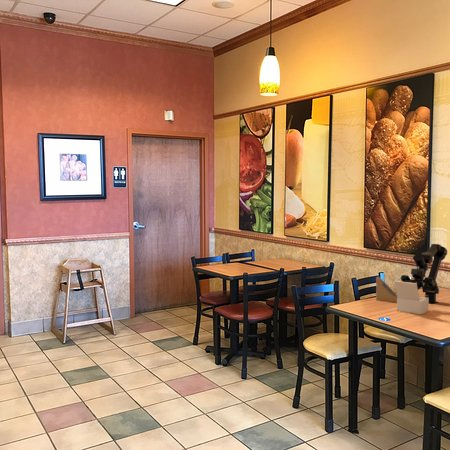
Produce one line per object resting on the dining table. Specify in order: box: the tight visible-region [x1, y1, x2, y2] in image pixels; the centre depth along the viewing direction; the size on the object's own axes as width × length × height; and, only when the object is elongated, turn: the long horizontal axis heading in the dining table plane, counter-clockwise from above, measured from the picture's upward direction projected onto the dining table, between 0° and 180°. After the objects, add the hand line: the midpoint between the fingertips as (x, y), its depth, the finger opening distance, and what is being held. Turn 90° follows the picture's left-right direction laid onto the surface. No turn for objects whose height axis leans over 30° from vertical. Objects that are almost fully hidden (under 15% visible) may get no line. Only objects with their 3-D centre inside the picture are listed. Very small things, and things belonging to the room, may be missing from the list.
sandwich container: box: [375, 276, 398, 303], centre depth 318 cm, size 9×15×15 cm, turn 66°
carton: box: [396, 295, 430, 316], centre depth 290 cm, size 12×14×8 cm
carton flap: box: [393, 280, 420, 301], centre depth 283 cm, size 12×13×1 cm
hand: (413, 292), depth 290 cm, fingers closed
